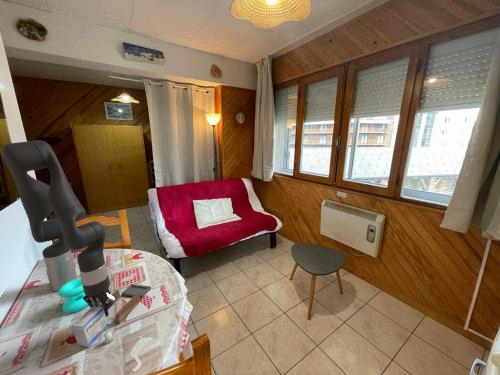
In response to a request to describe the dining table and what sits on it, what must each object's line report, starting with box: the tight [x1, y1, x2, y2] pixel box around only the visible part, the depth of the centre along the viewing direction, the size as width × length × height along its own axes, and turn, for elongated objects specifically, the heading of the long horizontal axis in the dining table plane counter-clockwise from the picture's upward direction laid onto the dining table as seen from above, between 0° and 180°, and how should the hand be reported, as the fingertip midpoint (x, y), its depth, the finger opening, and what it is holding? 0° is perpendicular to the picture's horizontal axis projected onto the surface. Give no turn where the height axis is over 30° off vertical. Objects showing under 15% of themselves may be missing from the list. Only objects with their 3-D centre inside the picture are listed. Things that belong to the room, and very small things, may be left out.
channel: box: [110, 289, 142, 324], centre depth 81 cm, size 11×11×4 cm
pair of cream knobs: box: [67, 324, 114, 345], centre depth 69 cm, size 17×2×3 cm, turn 79°
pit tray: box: [121, 283, 152, 299], centre depth 91 cm, size 10×6×1 cm, turn 79°
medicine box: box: [72, 307, 109, 347], centre depth 69 cm, size 8×4×9 cm, turn 172°
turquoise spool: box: [57, 277, 89, 314], centre depth 83 cm, size 10×10×10 cm
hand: (104, 317), depth 74 cm, fingers closed
